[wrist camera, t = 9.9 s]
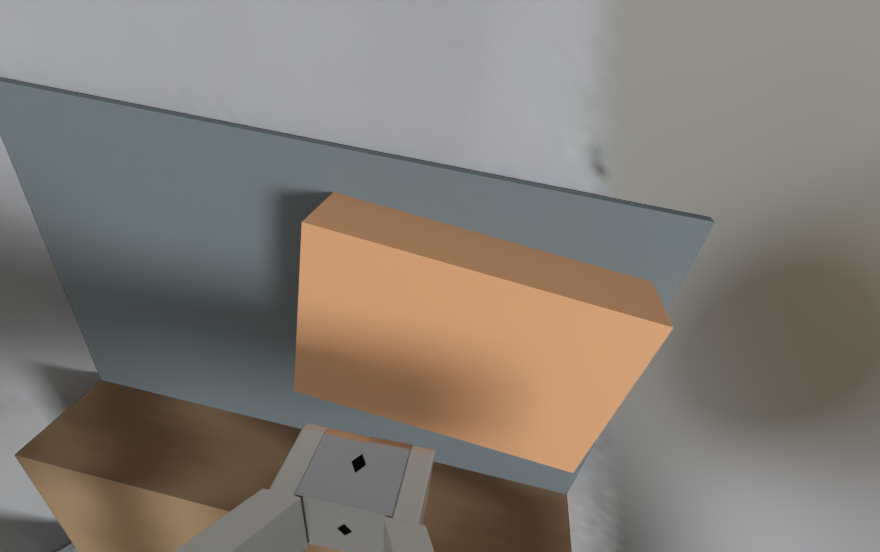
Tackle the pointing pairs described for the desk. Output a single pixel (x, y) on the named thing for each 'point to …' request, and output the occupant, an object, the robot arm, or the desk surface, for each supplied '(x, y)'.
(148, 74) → the desk surface
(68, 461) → the board
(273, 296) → the mat
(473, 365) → the orange rectangular block
